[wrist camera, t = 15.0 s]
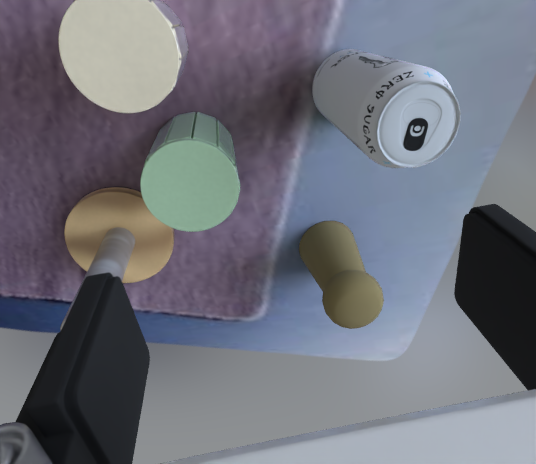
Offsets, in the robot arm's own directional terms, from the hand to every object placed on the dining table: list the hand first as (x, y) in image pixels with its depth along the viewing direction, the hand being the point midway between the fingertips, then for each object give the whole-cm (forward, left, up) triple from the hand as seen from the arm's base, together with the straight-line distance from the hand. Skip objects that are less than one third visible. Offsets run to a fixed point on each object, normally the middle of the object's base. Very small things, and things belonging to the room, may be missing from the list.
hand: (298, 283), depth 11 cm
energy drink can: (0, +9, -28) cm, 29 cm away
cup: (-6, -7, -28) cm, 29 cm away
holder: (+10, -14, -28) cm, 33 cm away
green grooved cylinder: (+4, -5, -28) cm, 28 cm away
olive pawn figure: (+16, +6, -28) cm, 33 cm away
